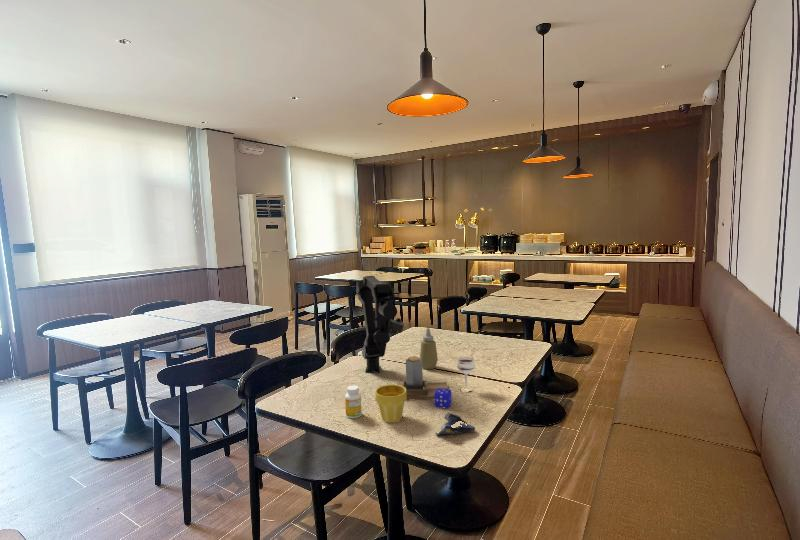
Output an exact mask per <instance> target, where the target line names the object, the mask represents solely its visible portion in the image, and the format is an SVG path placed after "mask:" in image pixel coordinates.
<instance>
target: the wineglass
mask: <svg viewBox="0 0 800 540" xmlns="http://www.w3.org/2000/svg"><path fill="white" fill-rule="evenodd" d="M475 361H476V360H475V358H473V357H469V356H463V357H462V356H461V357H458V358H457V363H456V367H457V369H458V370H459V371H460V372H461V373H463V375H464V381H465V387H464V388H465V389H467V388H468V374H471V373H472V372H473V371H474V369H475V366H476V364H475Z"/></svg>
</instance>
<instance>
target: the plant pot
mask: <svg viewBox="0 0 800 540" xmlns="http://www.w3.org/2000/svg"><path fill="white" fill-rule="evenodd" d="M374 397H375V402H376V403H377V405H378V408H379V412H380V416H381V417H380V418H381V420H382V421H383V422H385V423H397V422H400V421H401V420H402V418H403V413H404V407H405V403H406V401H407V400H406V399H407V392H406V388H405V387H403V386H400V385H397V384H385V385H381V386H379V387H377V388H376V389H375V391H374Z"/></svg>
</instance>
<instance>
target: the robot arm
mask: <svg viewBox="0 0 800 540" xmlns="http://www.w3.org/2000/svg"><path fill="white" fill-rule="evenodd" d="M355 290H356V291H355V292H356V295H357V299H358V300H359V301H360V302H359V303H361V304H362V308H363V317H364V324H365V325H364V326H365V330H366V331H365V332H366V337H365V340H364V342H363V347H362V350H361V356H362V358H364V360H366V367H365V371H364V372H365V373H380V372H381V369H382V368H381V367H382V366H381V365H380V358H383V357H384V356H385V355H386V349H387V345H388V343H389V342H390V341H391V333H392V331H395V332H398V333H400V334H401V333H403V330H404V328H405V327H404V326H405V323H404V322H402V318H399V317H397V314H398V309H397V307H396V306H395V305H394V304H393V302H395V299H396V295H395V291H394V290H393V287H392V286H391V284H390V282H382V281H380V280H379V279H377V278H376V276H374V275H364V276H363V278H362V279H361V280H360V281H359V282H357V284H356V289H355ZM373 302H374V303H373ZM374 308H375V309H374ZM396 317H397V318H396ZM394 318H396V319H394Z"/></svg>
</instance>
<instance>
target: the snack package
mask: <svg viewBox="0 0 800 540" xmlns="http://www.w3.org/2000/svg"><path fill="white" fill-rule="evenodd" d="M444 420H446V421H447V422H445V423H444V424H443V425H442V426H441V428H440V430H441V431H440V430H438V431H437V432H439V431H440V432H439V433H437V432H434V434H435V436H437V435H438V436H439V435H448V434H449V435H450V434H455V435H459V434H461V433H464V432H467V431H474V432H475V430H476V427H475V426H474V425H471V424H468V423H467V422H466V421H465V420H463V419H462V418H461V415H457V414H456V413H455V414H454V413H450V412H448V411H447V413H445V415H444ZM458 421H462V422H464V423H466V424H467V426H466V425H465V424H461V423H460V425H462V427H461V426H458V427H457V428H452V427H451V425H453V424H455V423H456V422H458Z"/></svg>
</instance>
